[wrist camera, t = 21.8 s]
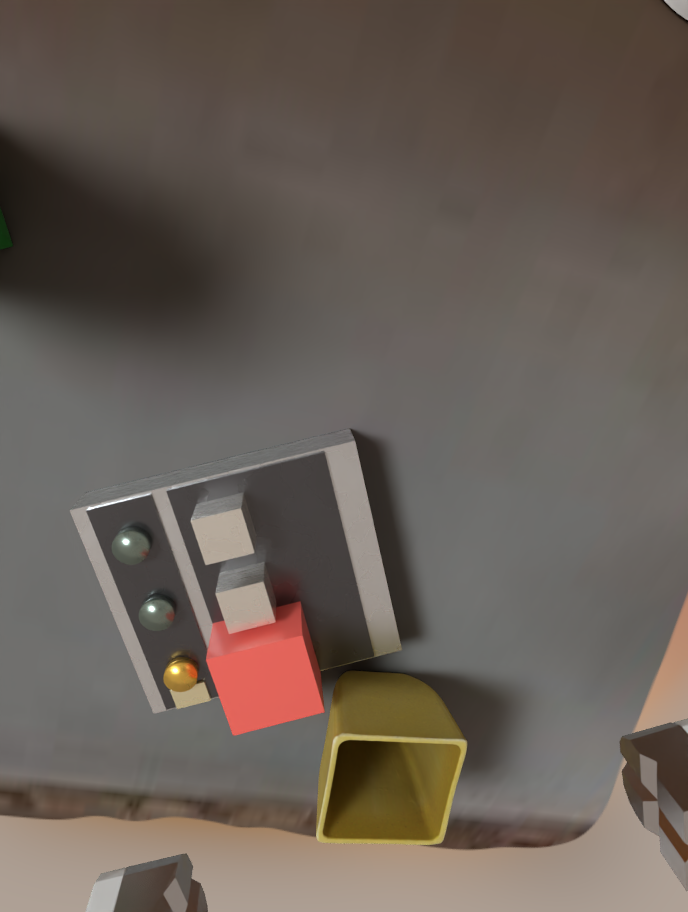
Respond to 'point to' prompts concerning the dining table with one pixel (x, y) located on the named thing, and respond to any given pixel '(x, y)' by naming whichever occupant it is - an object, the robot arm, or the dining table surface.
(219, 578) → the breaker panel
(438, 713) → the flower pot
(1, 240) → the milk carton
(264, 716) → the cap
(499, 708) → the dining table surface
